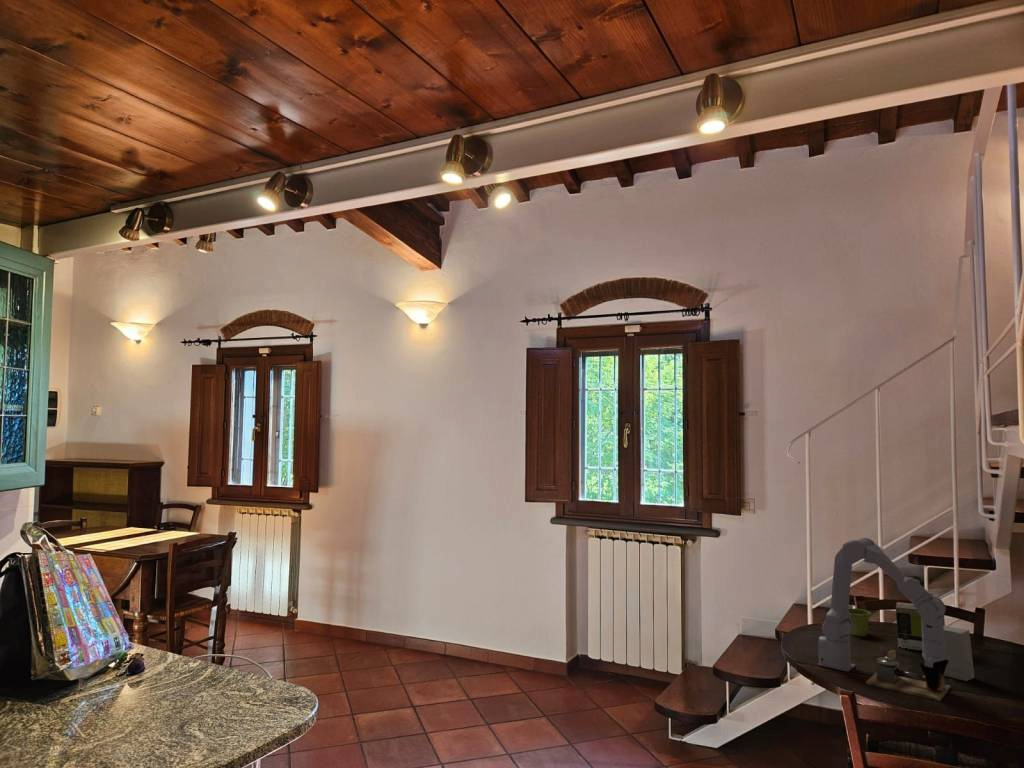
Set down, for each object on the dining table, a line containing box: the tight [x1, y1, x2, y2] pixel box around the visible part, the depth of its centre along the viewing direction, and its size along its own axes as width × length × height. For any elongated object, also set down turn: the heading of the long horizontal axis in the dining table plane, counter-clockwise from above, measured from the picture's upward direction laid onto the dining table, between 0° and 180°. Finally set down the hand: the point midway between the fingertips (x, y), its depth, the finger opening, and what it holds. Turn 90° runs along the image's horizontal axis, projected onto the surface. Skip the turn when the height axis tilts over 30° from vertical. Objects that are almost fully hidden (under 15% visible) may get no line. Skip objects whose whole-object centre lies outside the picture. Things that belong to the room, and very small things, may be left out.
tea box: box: [895, 601, 946, 652], centre depth 241 cm, size 15×10×15 cm, turn 58°
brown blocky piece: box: [896, 669, 946, 691], centre depth 201 cm, size 12×4×4 cm, turn 46°
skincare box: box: [944, 625, 975, 682], centre depth 212 cm, size 8×6×15 cm
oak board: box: [866, 672, 951, 702], centre depth 203 cm, size 20×14×1 cm
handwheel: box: [876, 649, 900, 666], centre depth 208 cm, size 8×6×3 cm
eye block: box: [875, 662, 902, 684], centre depth 207 cm, size 5×7×5 cm
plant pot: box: [848, 608, 872, 637], centre depth 258 cm, size 9×9×9 cm
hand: (935, 686), depth 198 cm, fingers open, 6 cm apart
